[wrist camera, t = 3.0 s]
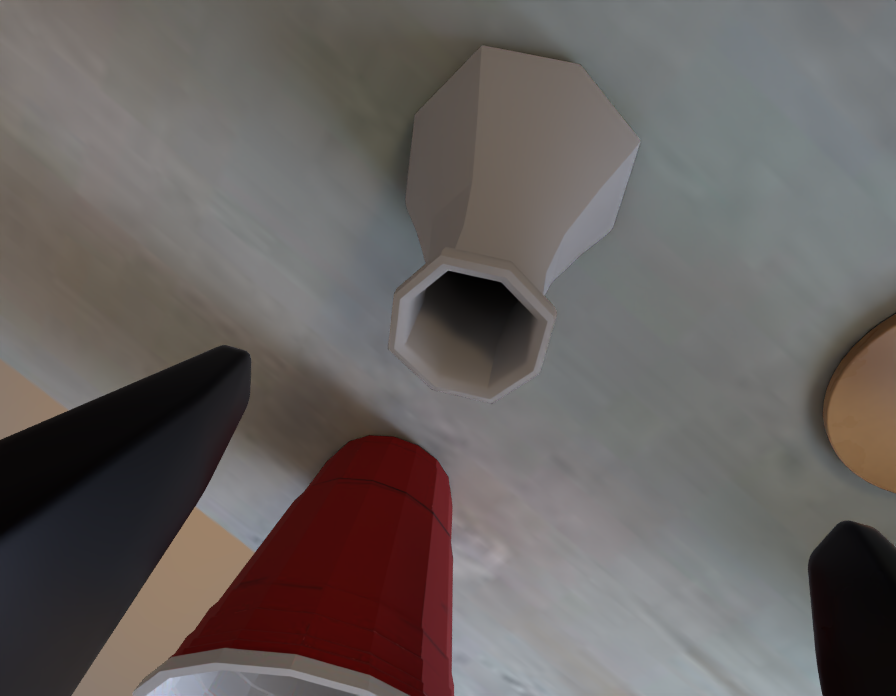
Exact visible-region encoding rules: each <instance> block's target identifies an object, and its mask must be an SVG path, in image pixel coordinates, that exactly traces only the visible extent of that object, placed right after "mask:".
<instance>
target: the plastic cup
mask: <svg viewBox="0 0 896 696" xmlns="http://www.w3.org/2000/svg"><path fill="white" fill-rule="evenodd" d="M451 529H452V499H451V492H450V487H449V479H448V476H447V474H446V473H445V471H444V470H443V468H442V467H441V465H440V464H439V462H438V461H437V459H435V458H434V457H433V456H431V455H430V454H429V453H427V452H426V451H425V450H423V449H422V448H421V447H419V446H418V445H416V444H413V443H410V442H407V441H404V440H402V439H399V438H396V437H391V436H373V435H369V436H366V437H362V438H359V439H356V440H352V441H349V442H348V443H347V444H346V445H345V446H344V447H343V448H341V449H340V450H339V451H338V452H337V453H336V454H335V455H334V456H332V457H331V458H330V459H329V460H328V461H327V462H326V464H325V465H324V466H323V467H322V469H321V470H320V471H319V473H318V474H317V475H316V477H315V478H314V479H313V481H312V482H311V483H310V485H309V486H308V487H307V489H306V490H305V491H304V492H303V493H302V494H301V495H300V496H299V497H298V498H297V499H296V500H295V501H294V502H293V503H292V504H291V506H290V507H289V508H288V510H287V511H286V512H285V514H284V515H283V516H282V518H281V519H280V520H279V522H278V523H277V524H276V526H275V527H274V528H273V530H272V531H271V532H270V533H269V535H268V536H267V537H266V539H265V540H264V541H263V543H262V544H261V545H260V547H259V548H258V549H257V551H256V552H255V553H254V555H253V556H252V557H251V559H250V560H249V561H248V563H247V564H246V565H245V567H244V568H243V569H242V571H241V572H240V573H239V575H238V576H237V577H236V578H235V580H234V581H233V582H232V584H231V585H230V587H229V588H228V589H227V590H226V592H225V593H224V594H223V596H222V597H221V598H220V600H219V601H218V602H217V603H216V604H215V605H213V606H212V607H211V608H210V609H209V610H208V612H207V613H206V615H205V616H204V617H203V619H202V620H201V622H200V623H199V625H198V626H197V627H196V629H195V630H194V631H193V632H192V633H191V634H189V635H188V636H187V637H186V638H185V640H184V641H183V643H182V644H181V646H180V647H179V649H178V650H177V651H176V653H175V654H174V655H172V656H171V657H170V658H169V659H168V660H167V661H166V662H164V663H163V664H162V665H161V666H159V667H158V668H157V669H155V670H154V671H153V672H152V673H150V674H149V675H148V676H146V677H145V678H144V679H143V680H142V682H141V683H140V684H139V685H138V686H137V688H136V689H135V690H134V692H133V696H454V684H453V678H452V585H453V555H452V548H451Z"/></svg>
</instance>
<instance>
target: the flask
mask: <svg viewBox="0 0 896 696" xmlns="http://www.w3.org/2000/svg"><path fill="white" fill-rule="evenodd" d="M640 142H641V140H640V139H639V138H638V136H637V135H636V134H635V132H634V131H633V130H632V129H631V127H630V126H629V125H628V124H627V122H626V121H625V120H624V119H623V117H622V116H621V115H620V114H619V112H618V111H617V110H616V109H615V107H614V106H613V105H612V104H611V102H610V101H609V100H608V98H607V97H606V96H605V95H604V93H603V92H602V91H601V90H600V88H599V87H598V86H597V85H596V83H595V82H594V81H593V80H592V78H591V77H590V76H589V75H588V73H587V72H586V71H585V70H584V68H583V67H582V66H581V65H580V64H576V63H571V62H566V61H561V60H556V59H551V58H545V57H540V56H535V55H530V54H525V53H520V52H515V51H510V50H504V49H499V48H494V47H489V46H484V45H482V46H481V47H480V48H479V49H478V50H477V51H476V52H475V53H474V54H473V55H472V56H471V57H470V58H469V59H468V60H467V61H466V62H465V63H464V64H463V65H462V66H461V67H460V68H459V69H458V70H457V71H456V72H455V74H454V75H453V76H452V77H451V78H450V79H449V80H448V81H447V82H446V83H445V84H444V85H443V86H442V87H441V88H440V89H439V90H438V91H437V92H436V93H435V94H434V95H433V96H432V97H431V98H430V99H429V100H428V101H427V102H426V104H425V105H424V106H423V107H422V108H421V109H420V110H419V111H418V112H417V113H416V114H415V117H414V126H413V135H412V144H411V153H410V162H409V170H408V179H407V188H406V197H405V203H406V207H407V210H408V212H409V215H410V217H411V219H412V222H413V224H414V226H415V229H416V231H417V234H418V238H419V241H420V245H421V248H422V252H423V255H424V259H425V262H426V263H425V265H424V266H423V267H421V268H420V269H419V270H418V271H417V272H416V273H414V274H413V275H412V276H411V277H410V278H408V279H407V280H406V281H405V282H404V283H403V284H401V285H400V286H399V287H398V288H397V289H396V291H395V293H394V298H393V307H392V316H391V325H390V334H389V343H388V350H389V351H391V352H392V353H393V354H394V355H395V356H396V357H397V358H398V359H399V360H400V361H401V362H402V363H404V364H405V365H406V366H407V367H408V368H409V369H410V370H411V371H412V372H413V373H414V374H415V375H417V376H418V377H419V378H420V379H421V380H422V381H423V382H424V383H425V384H426V385H427V386H428V387H430V388H431V389H432V390H435V391H439V392H444V393H448V394H452V395H457V396H461V397H465V398H469V399H474V400H478V401H482V402H486V403H491V404H493V403H494V402H496V401H497V400H499V399H501V398H502V397H504V396H505V395H507V394H508V393H510V392H512V391H513V390H515V389H516V388H518V387H519V386H521V385H523V384H524V383H526V382H527V381H529V380H530V379H532V378H534V377H535V376H537V375H538V374H540V372H541V368H542V365H543V362H544V358H545V355H546V351H547V348H548V344H549V341H550V338H551V334H552V331H553V327H554V324H555V320H556V316H557V311H556V309H555V307H554V306H553V305H552V304H551V302H550V301H549V300H548V299H547V298H546V297H545V294H546V292H547V290H548V288H549V286H550V284H551V283H552V282H553V281H554V280H555V279H556V278H557V277H558V276H559V275H560V274H561V273H562V272H563V271H564V270H566V269H567V268H568V267H569V266H570V265H571V264H572V263H573V262H574V261H575V260H576V259H577V258H578V257H579V256H580V255H581V254H583V253H584V252H585V251H586V250H588V249H589V248H590V247H592V246H593V245H594V244H595V243H597V242H598V241H599V240H600V239H602V238H603V237H604V236H606V235H607V234H608V233H609V232H610V231H611V230H612V229H613V226H614V223H615V220H616V217H617V214H618V211H619V208H620V204H621V201H622V198H623V195H624V192H625V189H626V186H627V183H628V180H629V176H630V173H631V170H632V167H633V164H634V161H635V158H636V155H637V152H638V148H639V145H640Z"/></svg>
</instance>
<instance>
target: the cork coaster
mask: <svg viewBox="0 0 896 696" xmlns="http://www.w3.org/2000/svg"><path fill="white" fill-rule="evenodd" d="M823 420H824V427H825V430H826V433H827V436H828V439H829V441H830V443H831V445H832V447H833V449H834V451H835V453H836V454H837V456H838V457H839V458H840V460H841V461H842V462H843V463H844V464H845V466H847V467H848V468H849V469H850V470H851V471H852V472H854V473H855V474H856V475H858V476H859V477H861V478H862V479H864V480H865V481H867V482H869V483H871V484H873V485H875V486H877V487H879V488H882V489H884V490H887V491H890V492H893V493H896V314H894V315H893V316H891V317H890V318H888V319H887V320H885V321H883V322H882V323H880V324H879V325H878V326H876V327H875V328H874V329H873V330H871V331H870V332H869V333H867V334H866V335H865V336H864V337H863V338H862V339H861V340H860V341H859V342H858V343H857V344H856V345H855V346H854V347H853V348H852V349H851V350H850V351H849V352H848V353H847V355H846V356H845V357H844V358H843V360H842V361H841V362H840V364H839V366H838V367H837V369H836V370H835V372H834V374H833V375H832V378H831V380H830V382H829V385H828V387H827V390H826V394H825V398H824V404H823Z"/></svg>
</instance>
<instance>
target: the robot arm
mask: <svg viewBox="0 0 896 696" xmlns="http://www.w3.org/2000/svg"><path fill="white" fill-rule="evenodd" d="M250 383H251V357H250V354H249V353H248V352H247V351H245V350H241V349H238V348H234V347H231V346H226V345H222V346H219V347H216V348H214V349H211V350H209V351H207V352H204V353H202V354H200V355H197V356H195V357H193V358H190V359H188V360H186V361H183V362H181V363H179V364H176V365H174V366H172V367H169V368H167V369H165V370H162V371H160V372H158V373H155V374H153V375H151V376H148V377H146V378H144V379H141V380H139V381H137V382H134V383H132V384H130V385H127V386H125V387H123V388H120V389H118V390H116V391H113V392H111V393H109V394H106V395H104V396H102V397H99V398H97V399H95V400H92V401H90V402H88V403H85V404H83V405H81V406H78V407H76V408H74V409H71V410H69V411H67V412H64V413H62V414H60V415H57V416H55V417H53V418H51V419H48V420H46V421H43V422H41V423H39V424H37V425H34V426H32V427H29V428H27V429H25V430H22V431H20V432H18V433H15V434H13V435H11V436H8V437H6V438H4V439H1V440H0V696H71V695H72V694H73V692H74V691H75V689H76V688H77V686H78V684H79V683H80V681H81V680H82V678H83V677H84V675H85V674H86V672H87V671H88V669H89V668H90V666H91V665H92V663H93V661H94V660H95V659H96V657H97V655H98V654H99V652H100V651H101V649H102V648H103V646H104V645H105V643H106V642H107V640H108V639H109V637H110V636H111V634H112V633H113V631H114V629H115V628H116V626H117V625H118V623H119V622H120V620H121V619H122V617H123V616H124V614H125V613H126V611H127V610H128V608H129V606H130V605H131V603H132V602H133V600H134V599H135V597H136V596H137V594H138V592H139V591H140V590H141V588H142V586H143V585H144V583H145V582H146V581H147V579H148V577H149V576H150V574H151V573H152V571H153V570H154V568H155V567H156V565H157V564H158V562H159V561H160V559H161V558H162V556H163V555H164V553H165V551H166V550H167V548H168V547H169V545H170V544H171V542H172V541H173V539H174V538H175V536H176V535H177V533H178V532H179V530H180V529H181V527H182V525H183V524H184V522H185V521H186V519H187V518H188V516H189V515H190V513H191V512H192V510H193V509H194V507H195V506H196V504H197V502H198V501H199V499H200V498H201V496H202V494H203V493H204V491H205V489H206V487H207V485H208V483H209V482H210V480H211V478H212V476H213V474H214V472H215V470H216V468H217V466H218V464H219V462H220V460H221V458H222V456H223V454H224V452H225V450H226V448H227V446H228V444H229V442H230V440H231V438H232V436H233V434H234V432H235V430H236V428H237V425H238V423H239V421H240V419H241V417H242V415H243V413H244V411H245V409H246V407H247V404H248V401H249V397H250ZM808 575H809V586H810V597H811V608H812V619H813V630H814V640H815V651H816V659H817V667H818V673H819V679H820V685H821V690H822V695H823V696H896V548H895V547H894V546H893V545H892V544H891V543H890V542H889V541H888V540H887V539H886V538H885V537H884V536H883V535H882V534H881V533H880V532H879V531H878V530H876V529H875V528H873V527H870V526H867V525H863V524H860V523H856V522H853V521H842V522H840V523H838V524H837V525H836V526H835V527H834V528H833V529H832V531H831V532H830V533H829V534H828V535H827V536H826V537H825V538H824V540H823V541H822V542H821V543H820V544H819V545H818V546H817V547H816V548H815V550H814V551H813V552H812V554H811V556H810V559H809V563H808Z"/></svg>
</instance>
